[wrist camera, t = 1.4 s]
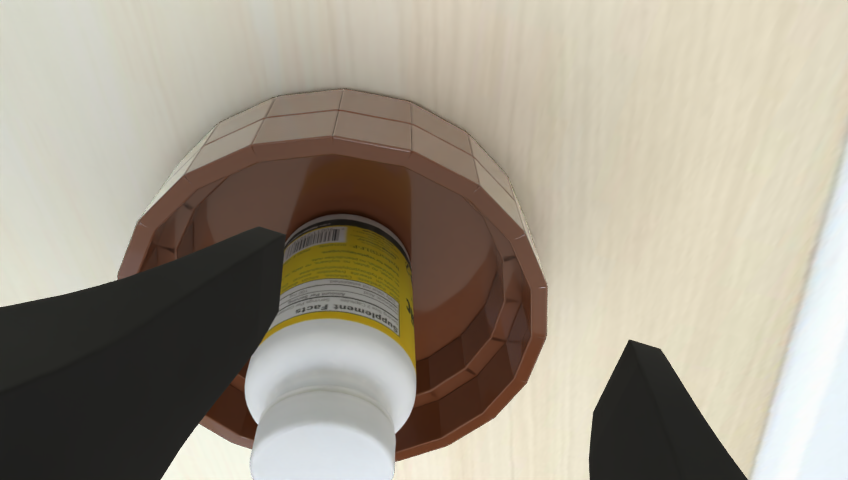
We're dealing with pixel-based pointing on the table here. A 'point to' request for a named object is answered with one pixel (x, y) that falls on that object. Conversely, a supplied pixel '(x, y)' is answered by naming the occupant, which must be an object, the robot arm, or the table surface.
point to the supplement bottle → (335, 356)
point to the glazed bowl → (391, 207)
